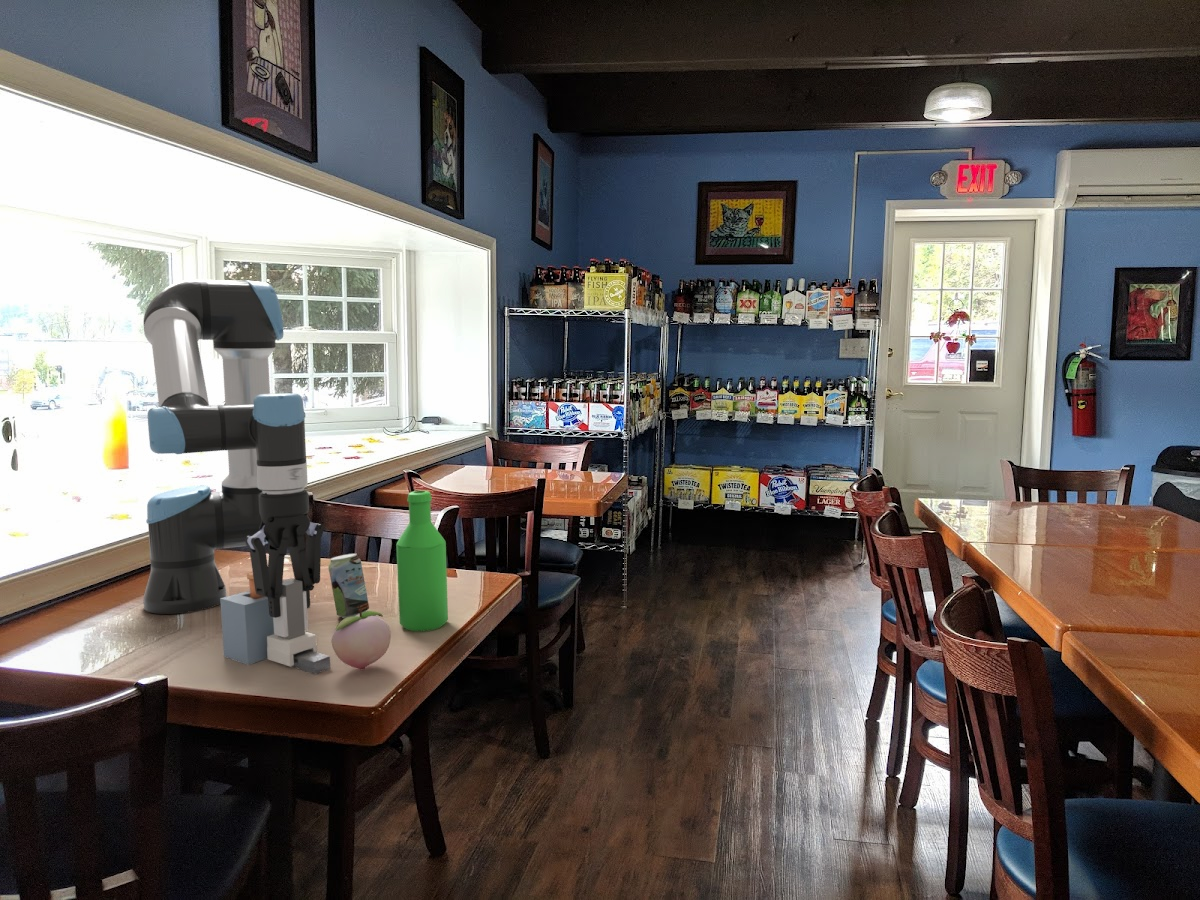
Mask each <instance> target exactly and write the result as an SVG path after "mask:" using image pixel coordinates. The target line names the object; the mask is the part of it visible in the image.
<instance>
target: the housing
mask: <svg viewBox="0 0 1200 900" xmlns="http://www.w3.org/2000/svg"><path fill="white" fill-rule="evenodd" d="M226 596H227V597H223V598H220V604H219V605H220V616H221V617H220V618H221V630H222V631H221V634H222V645H223V647H222V648H223V649H222V650H223V657H224V658H227V659H230V660H233V661H236V662H239V663H242V664H245V665H247V666H249V665H252V664H255V663H259V662H261V661H264V660H268V655H267V647H268V646H267V636H270V635H273V634H274V623H273V617H271V616H270V615H269V606H268V598H267V597H262V598H258V599H253V598H250V590H247V591H243V592H240V593H236V594H232V595H226Z"/></svg>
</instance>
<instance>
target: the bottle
mask: <svg viewBox="0 0 1200 900" xmlns="http://www.w3.org/2000/svg"><path fill="white" fill-rule="evenodd" d="M432 500H433V498H432V495H431V492H430V491H428V490H414V491H410V492H408V495H407V502H408V514H409V518H408V519H409V523H408V524H407V526H406V528H405V529H404V530H403V532H402V534H401V536H400V537H399V539H398V540H397V542H396V567H397V569H396V570H397V591H398V593H397V594H398V616H399V625H400V626H402V627H403V628H404V629H405V630H408V631H411V632H428V631H434V630H436V629H440V628H441V627H443V626H444V625H445V624H446V623H447V621H448V620H449V611H448V610H449V608H448V607H449V606H448V578H447V577H448V574H447V573H448V572H447V546H446V545H447V543H446V540H445V539H444V537H443V536H442V534H441V533H440V532H439V530H438V529H437V528H436V526H435V524H433V522H432V510H431V509H432V508H431V502H432Z"/></svg>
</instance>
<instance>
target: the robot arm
mask: <svg viewBox="0 0 1200 900" xmlns="http://www.w3.org/2000/svg"><path fill="white" fill-rule="evenodd" d="M282 315H283V314H282V309H281V305H280V301H279V298H278V295H277V293H276V290H275V288H274V287H273V285H272V284H269V283H268V282H264V281H254V280H249V279H248V280H228V279H227V280H225V279H224V280H221V279H220V280H219V279H217V280H215V279H214V280H213V279H185V280H180V281H178V282H176V283H173V284H171V285H169V286H167V287H165V288H164V289H163V290H161V291H160V292H159V293H157V295H156V296H155V297H154V298H152V299H151V301H150V302H149V304H148V306H147V308H146V310H145V313H144V315H143V331H144V332H143V333H144V336H145V338H146V340H147V341H148V342H149V343H150V345H151V347H152V348H151V349H152V356H153V357H152V358H153V365H154V374H155V375H154V376H155V382H156V390H157V391H156V392H157V393H156V394H157V400H158V407H153V408H150V409H149V410H148V411H147V427H148V429H147V430H148V438H149V439H148V440H149V448H150V450H151V451H152V453H155V454H159V455H160V454H161V455H163V454H176V455H183V454H194V453H208V452H217V451H227V460H228V475H227V476H226V477H225V478H224V479H223V480H222V481H221V491H215V492H212V489H211V488H210V486H208V485H197V486H196V485H193V486H186V487H180V488H176V489H172V490H168V491H164V492H160V493H158V494H155V495H153V496H152V497H151V498H150V499H149V500H148V501H147V504H146V505H147V506H146V507H147V508H146V510H147V511H146V513H147V515H146V516H147V518H146V524H147V525H148V526H147V527H148V541H149V542H148V543H149V558H150V560H149V561H150V573H149V577H148V581H147V583H146V587H145V591H144V594H143V609H144V611H145V612H147V613H151V614H159V615H174V614H186V613H187V614H188V613H193V612H198V611H202V610H206V609H207V610H208V609H211V608H213V607H216V606H218V605H221V604H220V598H223V597H227V596H228V595H227V587H226V585H225V582H224V581H223V578H222V576H221V573H220V571H219V569H218V566H217V564H216V560H215V550H220V549H229V548H238V547H240V548H241V547H247V549H248V550H249V555H250V562H251V569H252V572H253V577H254V584H255V591H256V594H258V595H261V596H265V597H267V598H268V606H269V615H270V616H271V617H273V623H274V634H275V635H278V636H281V637H287V636H288V621H287V604H286V597H285V596H281V594H282V582H283V580H284V579H283V578H284V570H285V569H284V567H285V566H284V565H285V556H287V553H289V556H290V562H291V567H292V573H293V577H294V578H293V579H295V580H299V581H302V587H303V606H304V625H305V632H307V631H309V622H308V621H309V619H308V609H309V608H311V607H310V606H311V591H313V590H314V589H315V584H316V585H317V584H319V583H320V581H321V556H322V553H321V552H322V537H323V533H324V531H325V525H324V524H322V523H315V522H312V521H311V518H310V517H309V515H308V512H309V510H310V501H309V497H310V496H309V491H308V490H307V489H305V488H306V487H307V486H308V485H309V484H308V483H309V482H308V465H307V452H306V451H307V450H306V426H305V424H306V423H305V421H306V420H305V419H306V412H305V408H304V407H305V406H304V400H303V397H302V396H301V395H300V394H299V393H289V392H288V393H286V392H284V393H283V392H280V393H278V392H277V393H271V391H270V389H271V386H270V367H269V366H270V365H269V357H270V356H271V354H273V352H275V350H276V348H277V346H276V341H279V340H282V339H283V337H284V321H283V316H282ZM199 340H204V341H205V340H207V341H208V340H210V341H212V342H213V345H212V346H213V350H214V351H215V352H216V353H217V354H218V355H219V356H221V360H222V369H223V370H222V371H223V388H224V404H217V405H215V404H214V405H210V403H209V397H208V393H207V387H206V381H205V376H204V370H203V364H202V359H201V354H200V348H199V343H198V342H199ZM265 545H267V549H265ZM266 550H267V551H266ZM267 554H268V557H267ZM267 558H268V559H267Z"/></svg>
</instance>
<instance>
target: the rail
mask: <svg viewBox="0 0 1200 900" xmlns="http://www.w3.org/2000/svg"><path fill="white" fill-rule="evenodd" d="M293 658H294V665H293V666H291V668H294V669H298V670H301V671H303V672H308V673H310V674H312V675H317V674H319V673H321V672H324V671H327V670H330V669H331V656H330V655H326V654H323V653H320V652H318V651H317V652H314V651H311V650H305V651H302V652H299V653H296V654H293Z"/></svg>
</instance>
